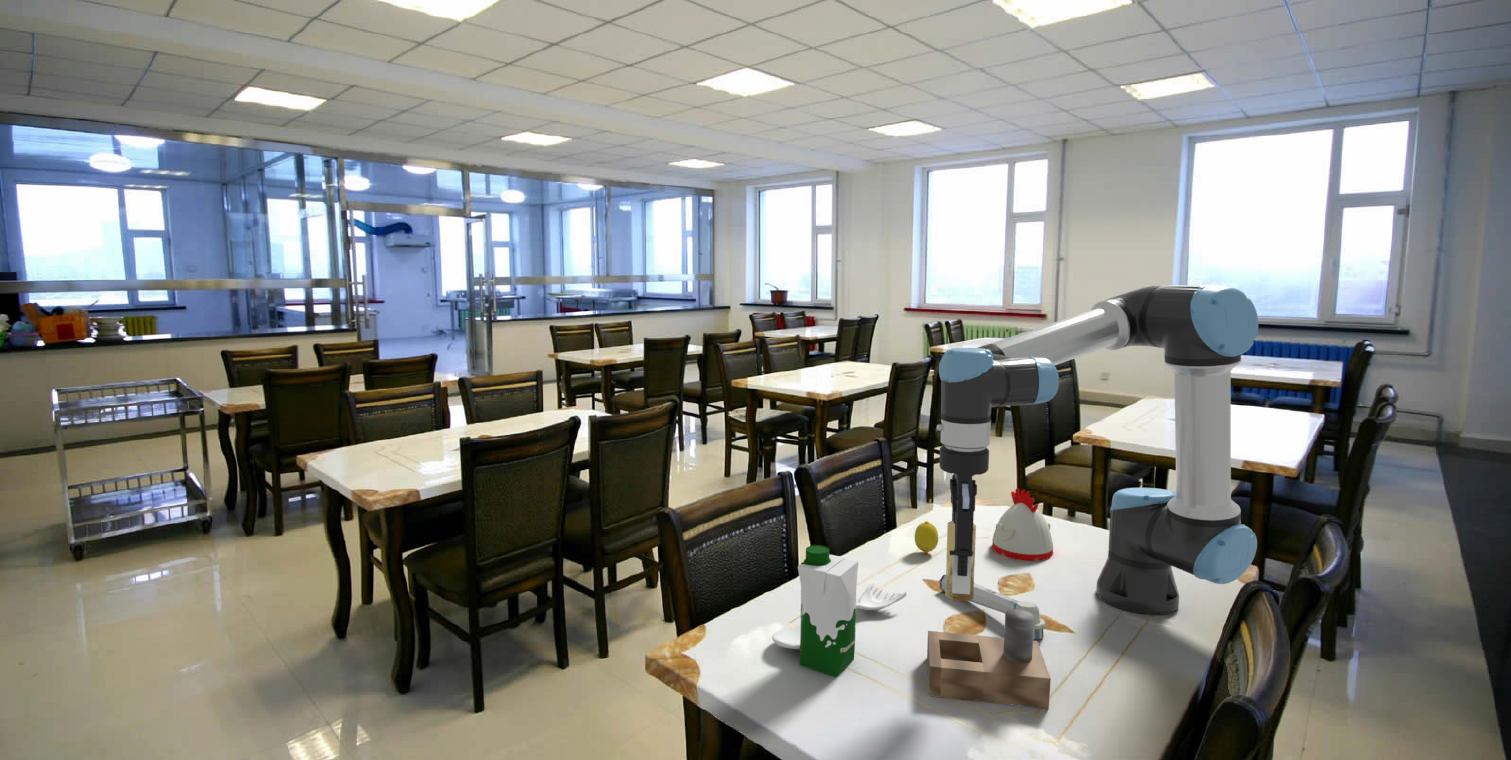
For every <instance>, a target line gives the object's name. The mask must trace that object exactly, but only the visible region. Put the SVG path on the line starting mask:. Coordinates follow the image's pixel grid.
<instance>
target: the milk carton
mask: <svg viewBox="0 0 1511 760" xmlns="http://www.w3.org/2000/svg"><path fill="white" fill-rule="evenodd" d="M858 570H859V561H858V560H854V559H850V558H846V557H844V556H840V555H839V556H838V555H834V554H830V548H829V547H827V546H825V545H819V544H818V545H817V544H813V545H809V546H807V547H806V548H805V559H804V560H803V562H801V563H800V564H799V565H798V566H797V571H798V576H799V583H800V625H801V636H800V649H799V666H800V667H803V668H806V669H808V670H809V669H810V670H813V671H815V672H816V671H817V672H820V673H823V674H826V675H828V676H832V677H835V678H838V676H840V675H841V673H842V672H843V671H844V670H845V669H846V668H847V667H848V666H849V665H850V664H851V663H852V661H854V660H855V650H856V649H855V648H856V623H857V622H856V619H857V617H856V616H857V608H856V603H857V585H858V584H857V583H858V581H857V580H858Z"/></svg>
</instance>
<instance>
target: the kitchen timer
mask: <svg viewBox="0 0 1511 760" xmlns="http://www.w3.org/2000/svg"><path fill="white" fill-rule="evenodd" d="M1014 490H1015V491H1011V492H1010V494H1011V495H1010V496H1011V498H1012V502H1013V505H1011V506H1010V507H1009V508H1008V509H1007V510H1006V511H1005V512H1004V513H1003V514H1002V516H1000V518H999V520H998V522H997V523H996V524H995V530H994V532H993V534H992V545H991V546H992V550H993V551H994V552H995V553H997V554H998V555H1000V556H1003V557H1005V558H1008V559H1012V560H1018V561H1024V562H1025V561H1027V562H1028V561H1029V562H1037V561H1038V562H1039V561H1045V560H1046V561H1047V560H1049V559H1051V558H1052V557H1053V556H1054V541H1053V538H1052V534H1051V523H1049V522H1047V520H1046V518H1045V516H1044V515H1043V514H1042V512H1041V511H1040V510H1039V509H1038V508H1039V503H1037V504H1034V502H1035V497H1031V494H1030V491H1026V489H1021V490H1020V488H1019V487H1018V488H1015V489H1014Z"/></svg>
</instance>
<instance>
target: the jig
mask: <svg viewBox="0 0 1511 760" xmlns="http://www.w3.org/2000/svg"><path fill="white" fill-rule="evenodd" d="M1004 616H1005V617H1004V632H1003V633H1004V634H1003V637H999V636H990V635H989V636H988V635H978V634H977V635H976V634H966V633H956V632H947V631H946V632H943V631H936V630H934V631H933V630H927V649H926V651H927V652H926V662H927V663H926V664H927V666H926V667H927V683H928V696H929V697H937V698H948V699H956V700H965V701H966V700H967V701H974V702H982V701H983V703H993V704H1001V705H1009V704H1013V705H1012V706H1018V705H1020V706H1021V707H1030V708H1036V709H1038V708H1039V709H1046V710H1047V709H1048V710H1049V709H1050V695H1051V693H1050V692H1051V680H1052V679H1051V676H1050V674H1049V670H1048V668H1047V667H1048V666H1047V665H1046V662H1045V659H1044V656H1043V653H1042V650H1041V648H1040V645H1039V641H1038V640H1034V639H1033V633H1034V616H1033V615H1032V614H1031V613H1029V612H1027V611H1024V610H1018V609H1012V610H1008V611H1006V613H1004ZM1020 706H1019V707H1020Z"/></svg>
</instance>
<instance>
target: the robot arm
mask: <svg viewBox="0 0 1511 760" xmlns="http://www.w3.org/2000/svg"><path fill="white" fill-rule="evenodd" d="M1258 333H1259V316H1258V313H1257V310H1256V307H1255V304H1254V303H1253V302H1252V300H1251V298H1250V297H1249V296H1247V295H1246V294H1245V292H1243V291H1242V290H1240V289H1238V288H1235V287H1231V286H1221V285H1216V284H1178V285H1177V284H1174V285H1173V284H1172V285H1171V284H1158V285H1151V286H1145V287H1141V288H1138V289H1134V290H1131V291H1129V292H1125V293H1122V294H1118V295H1115V296H1114V297H1113V296H1112V297H1110V298H1106V299H1104V300H1101V301H1098V302H1096V303H1095V304H1094V305H1093V306H1092V307H1091V309H1090V310H1087V311H1085V312H1083V313H1079V314H1076V315H1073V316H1070V317H1067V318H1064V319H1061V320H1057V321H1055V322H1051V323H1048V324H1045V325H1043V326H1040V327H1037V328H1034V329H1030V330H1027V331H1025V332H1022V333H1018V334H1015V335H1012V336H1009V337H1007V338H1004V339H1000V340H997V341H995V342H991V343H988V344H985V345H981V346H977V347H953V348H952V347H951V348H949V349H947V350H946V351H945V352H944V354H943V356H942V357H941V358H940V361H939V363H938V364H939V365H938V374H939V375H938V376H939V378H940V380H941V385H940V387H941V393H940V394H941V396H940V397H941V398H940V400H941V401H940V402H941V403H940V404H941V405H940V418H941V419H940V422H941V424H937V425H936V430H937V431H938V432H939V431H940V443H941V444H942V445H941V446H940V448H939V468H940V470H941V471H943V472H945V473H947V474H952V476H951V478H949V489H950V503H951V505H952V506H951V508H952V509H951V521H955V549H954V551H950V555H953V578H952V593H958V594H970V579H971V557H972V554H973V551H972V546H973V523H974V517H975V515H974V514H975V513H974V512H975V511H976V496H977V495H978V484H977V482H976V480H975V479H973V477H974V476H976V475H977V476H981V475H983V474H985V473H987V472H988V471H989V466H990V465H989V464H990V462H989V461H990V449H988V447H989V446H990V444H991V424H992V423H991V422H992V421H991V415H992V408H998V407H999V408H1000V407H1010V406H1011V407H1013V406H1026V405H1028V406H1034V405H1037V404H1043V403H1047V402H1049V401H1052V399H1054V397H1055V396H1056V394H1057V392H1058V389H1059V387H1060V385H1059V380H1060V377H1059V372H1058V369H1057V367H1056V366H1057V365H1060V364H1063V363H1066V362H1068V361H1072V360H1074V359H1077V358H1080V357H1083V356H1085V355H1086V356H1087V355H1089V354H1092V353H1094V352H1097V351H1100V350H1103V349H1105V350H1106V349H1107V350H1109V351H1117V350H1121V349H1123V348H1126V347H1133V346H1134V347H1137V346H1139V347H1152V348H1153V347H1154V348H1159V349H1164V363H1165V365H1166V366H1168V367H1169V368H1170V369H1171V370H1172V371H1173V372H1174V422H1175V423H1174V425H1175V427H1174V428H1175V431H1174V432H1175V433H1174V435H1175V436H1174V437H1175V487H1176V489H1175V491H1172V490H1168V489H1163V488H1155V487H1126V488H1122V489H1119V490H1117V491H1115V493H1113V496H1112V500H1111V506H1110V509H1109V511H1110V514H1109V517H1110V518H1109V530H1108V531H1109V532H1108V554H1107V558H1106V561H1105V563H1104V565H1103V568H1102V570H1101V572H1100V574H1099V576H1098V578H1097V581H1096V587H1095V588H1096V589H1095V592H1096V595H1097V596H1098V597H1099V599H1101V600H1102V601H1104V602H1105V603H1106V604H1108V605H1111V606H1113V607H1115V608H1118V609H1121V610H1124V611H1127V612H1128V611H1129V612H1132V613H1137V614H1142V615H1143V614H1145V615H1165V614H1166V615H1167V614H1171V613H1174V612H1175V611H1176V610H1177V609H1178V608H1179V604H1180V603H1179V602H1180V594H1179V591H1178V586H1177V582H1176V580H1175V576H1174V573H1173V568H1172V567H1174V568H1176V569H1178V570H1181V571H1183V572H1186V573H1188V574H1190V575H1193V576H1194V577H1195V578H1197V579H1200V580H1204V581H1207V582H1210V583H1214V584H1217V585H1225V584H1230V583H1231V582H1234V581H1236V580H1237V579H1239V578H1240V577H1241V576H1243V575H1244V574H1245V573H1246V571H1247V569H1249V568H1250V566H1251V565H1252V562H1253V560H1254V559H1255V556H1256V552H1257V548H1258V539H1257V536H1256V533H1255V532H1253V530H1252V529H1251V528H1250V527H1249V526H1246V525H1245V524H1242V521H1241V520H1242V519H1241V514H1242V513H1241V512H1242V510H1241V507H1240V505H1239V504H1237V503H1236V502H1235V501H1234V500H1233V499H1232V497H1231V494H1232V493H1231V490H1232V487H1231V481H1232V480H1231V479H1232V476H1231V475H1232V472H1231V471H1232V470H1231V469H1232V467H1231V466H1232V465H1231V463H1232V461H1231V460H1232V459H1231V449H1232V446H1231V444H1232V443H1231V441H1232V440H1231V439H1232V437H1231V434H1232V433H1231V432H1232V431H1231V430H1232V428H1231V425H1232V424H1231V423H1232V422H1231V421H1232V420H1231V417H1232V414H1231V413H1232V412H1231V409H1232V408H1231V405H1232V403H1231V402H1232V401H1231V400H1232V399H1231V397H1232V396H1231V394H1232V393H1231V390H1232V389H1231V387H1232V386H1231V385H1232V382H1231V380H1232V379H1231V378H1232V377H1231V375H1232V374H1231V373H1232V370H1233V369H1234V368H1235V367H1237V365H1238V366H1239V365H1240V364H1241V362H1242V355H1243V354H1245V353H1247V352H1248V351H1249V350H1250V349H1251V347H1252V346H1253V344H1254V343H1255V342H1254V339H1256V338H1257V336H1258Z"/></svg>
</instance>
